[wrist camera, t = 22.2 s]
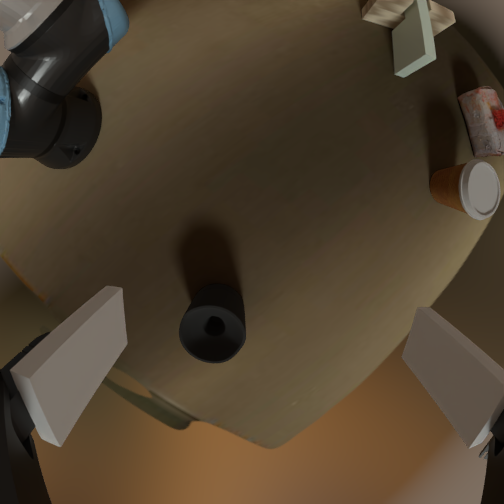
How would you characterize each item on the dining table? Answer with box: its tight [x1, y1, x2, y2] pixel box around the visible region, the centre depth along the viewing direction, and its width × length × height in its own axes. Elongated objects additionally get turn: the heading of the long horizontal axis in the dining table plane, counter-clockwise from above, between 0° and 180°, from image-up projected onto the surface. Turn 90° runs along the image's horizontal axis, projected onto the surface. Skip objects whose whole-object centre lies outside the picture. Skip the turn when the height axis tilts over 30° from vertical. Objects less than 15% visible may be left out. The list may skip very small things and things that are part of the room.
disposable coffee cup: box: [430, 159, 500, 220], centre depth 38 cm, size 10×10×12 cm
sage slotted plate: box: [392, 0, 436, 77], centre depth 31 cm, size 24×2×11 cm, turn 175°
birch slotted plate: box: [362, 0, 455, 37], centre depth 31 cm, size 14×2×11 cm, turn 85°
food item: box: [458, 86, 504, 157], centre depth 36 cm, size 14×8×10 cm, turn 18°
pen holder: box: [179, 284, 246, 363], centre depth 44 cm, size 9×9×10 cm
